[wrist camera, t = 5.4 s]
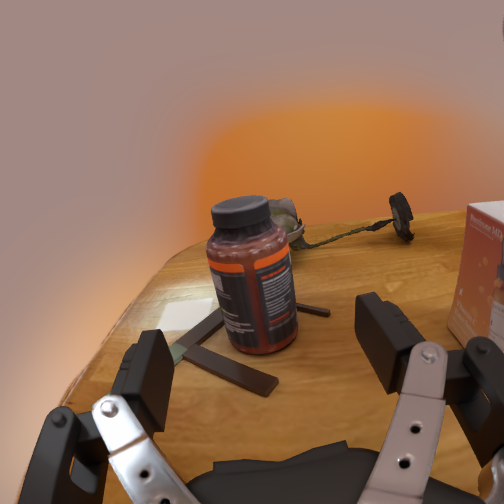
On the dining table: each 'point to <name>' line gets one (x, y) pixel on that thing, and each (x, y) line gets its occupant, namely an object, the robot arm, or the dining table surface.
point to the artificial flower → (287, 219)
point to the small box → (481, 276)
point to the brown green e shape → (222, 365)
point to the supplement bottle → (252, 275)
